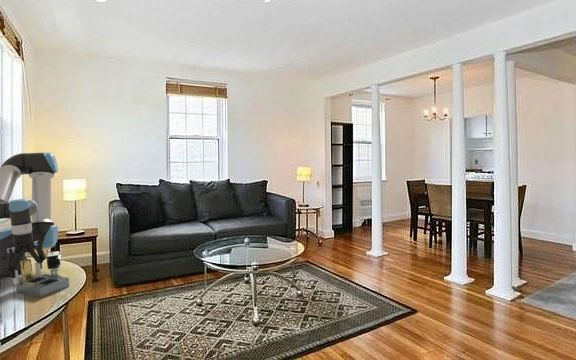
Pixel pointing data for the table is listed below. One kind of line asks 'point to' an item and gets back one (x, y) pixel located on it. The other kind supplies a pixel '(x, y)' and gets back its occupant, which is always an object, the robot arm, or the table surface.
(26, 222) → the robot arm
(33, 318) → the table surface
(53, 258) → the pneumatic valve
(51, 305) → the table surface
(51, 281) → the jig
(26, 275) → the tan rectangular block
